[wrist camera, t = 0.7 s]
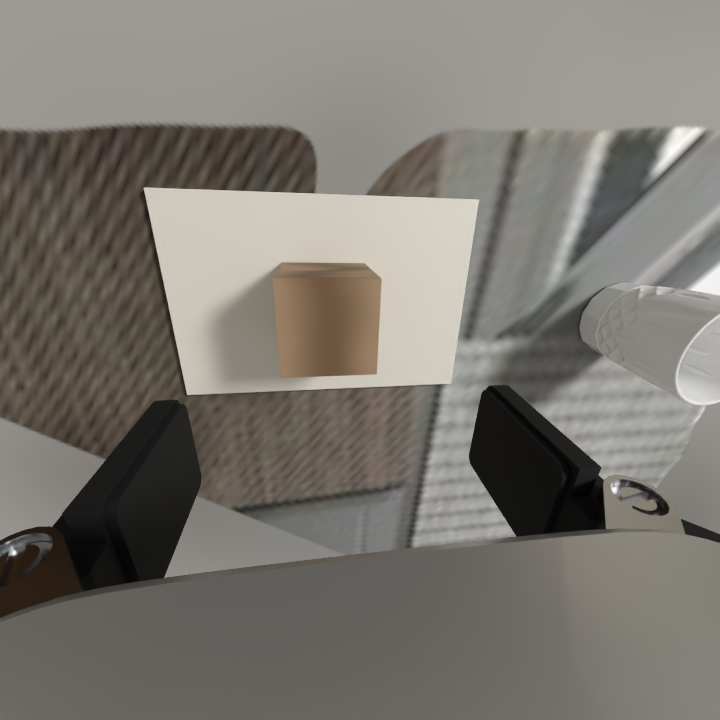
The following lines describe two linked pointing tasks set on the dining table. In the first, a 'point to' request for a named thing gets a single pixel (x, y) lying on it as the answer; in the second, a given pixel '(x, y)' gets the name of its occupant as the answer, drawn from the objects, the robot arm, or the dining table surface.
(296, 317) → the walnut block
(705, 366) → the white cup
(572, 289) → the dining table surface
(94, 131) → the dining table surface
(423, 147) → the dining table surface
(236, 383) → the board
